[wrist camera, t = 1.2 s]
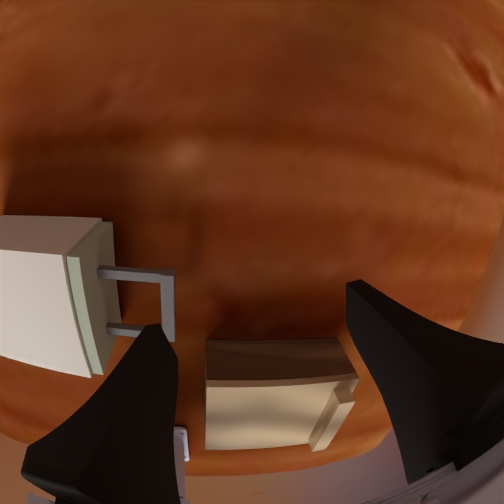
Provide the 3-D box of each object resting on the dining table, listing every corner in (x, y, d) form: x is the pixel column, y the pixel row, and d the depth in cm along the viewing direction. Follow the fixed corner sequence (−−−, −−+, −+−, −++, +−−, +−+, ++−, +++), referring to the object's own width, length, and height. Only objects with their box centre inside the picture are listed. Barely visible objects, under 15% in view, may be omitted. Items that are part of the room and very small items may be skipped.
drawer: (179, 328, 22) (173, 383, 17) (28, 309, 20) (-2, 350, 14) (180, 225, 19) (169, 263, 14) (10, 218, 17) (-35, 246, 11)
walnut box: (311, 403, 29) (322, 434, 25) (203, 407, 27) (205, 442, 23) (337, 338, 25) (355, 371, 21) (205, 339, 23) (206, 378, 19)
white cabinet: (112, 322, 22) (91, 377, 16) (22, 308, 20) (-11, 351, 14) (102, 218, 18) (61, 255, 12) (2, 215, 17) (-46, 244, 11)
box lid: (322, 435, 25) (328, 452, 23) (205, 443, 23) (206, 463, 21) (356, 372, 21) (367, 392, 19) (206, 380, 19) (207, 404, 17)
